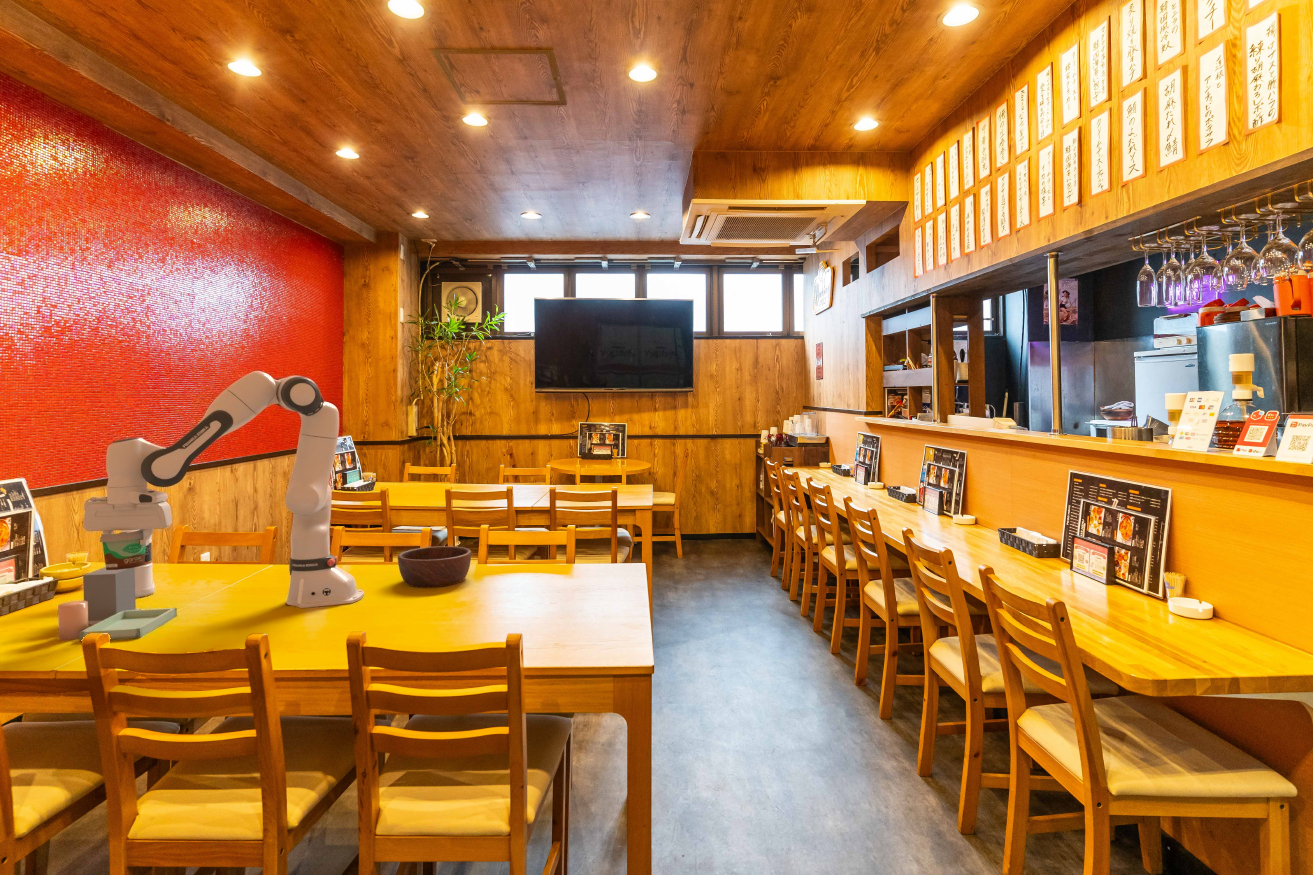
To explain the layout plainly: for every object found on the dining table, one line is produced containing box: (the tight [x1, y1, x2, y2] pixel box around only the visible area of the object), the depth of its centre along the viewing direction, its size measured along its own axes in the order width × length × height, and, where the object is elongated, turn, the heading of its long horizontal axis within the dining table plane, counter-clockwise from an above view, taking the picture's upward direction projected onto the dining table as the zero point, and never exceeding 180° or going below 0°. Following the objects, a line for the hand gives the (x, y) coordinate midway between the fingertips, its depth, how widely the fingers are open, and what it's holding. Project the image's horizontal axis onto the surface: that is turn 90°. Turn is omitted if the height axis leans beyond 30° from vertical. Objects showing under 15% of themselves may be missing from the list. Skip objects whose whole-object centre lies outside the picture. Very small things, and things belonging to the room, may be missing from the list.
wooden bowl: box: [397, 545, 472, 588], centre depth 241 cm, size 25×25×10 cm
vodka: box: [121, 530, 156, 599], centre depth 222 cm, size 9×9×30 cm
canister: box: [57, 600, 89, 642], centre depth 181 cm, size 6×6×9 cm
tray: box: [78, 607, 178, 643], centre depth 188 cm, size 14×20×2 cm
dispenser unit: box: [82, 566, 142, 626], centre depth 197 cm, size 10×12×14 cm
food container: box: [99, 529, 146, 570], centre depth 187 cm, size 12×6×10 cm, turn 169°
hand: (129, 545), depth 187 cm, fingers closed on food container, 6 cm apart
